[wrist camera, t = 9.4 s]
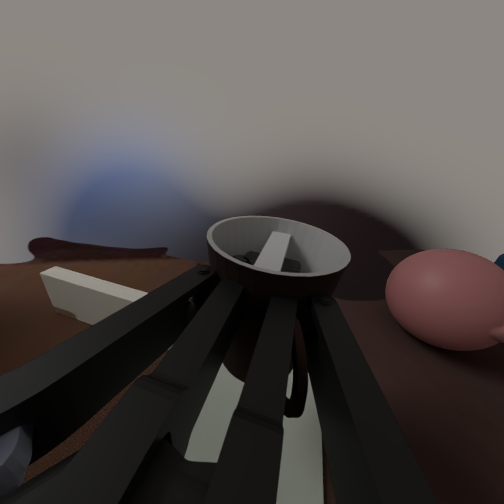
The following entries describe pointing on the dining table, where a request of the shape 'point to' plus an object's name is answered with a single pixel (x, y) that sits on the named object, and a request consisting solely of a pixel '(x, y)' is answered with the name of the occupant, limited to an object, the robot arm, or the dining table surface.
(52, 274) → the white rectangular block
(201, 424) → the mat
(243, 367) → the coffee mug
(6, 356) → the dining table surface
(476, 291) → the balloon
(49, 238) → the dining table surface
